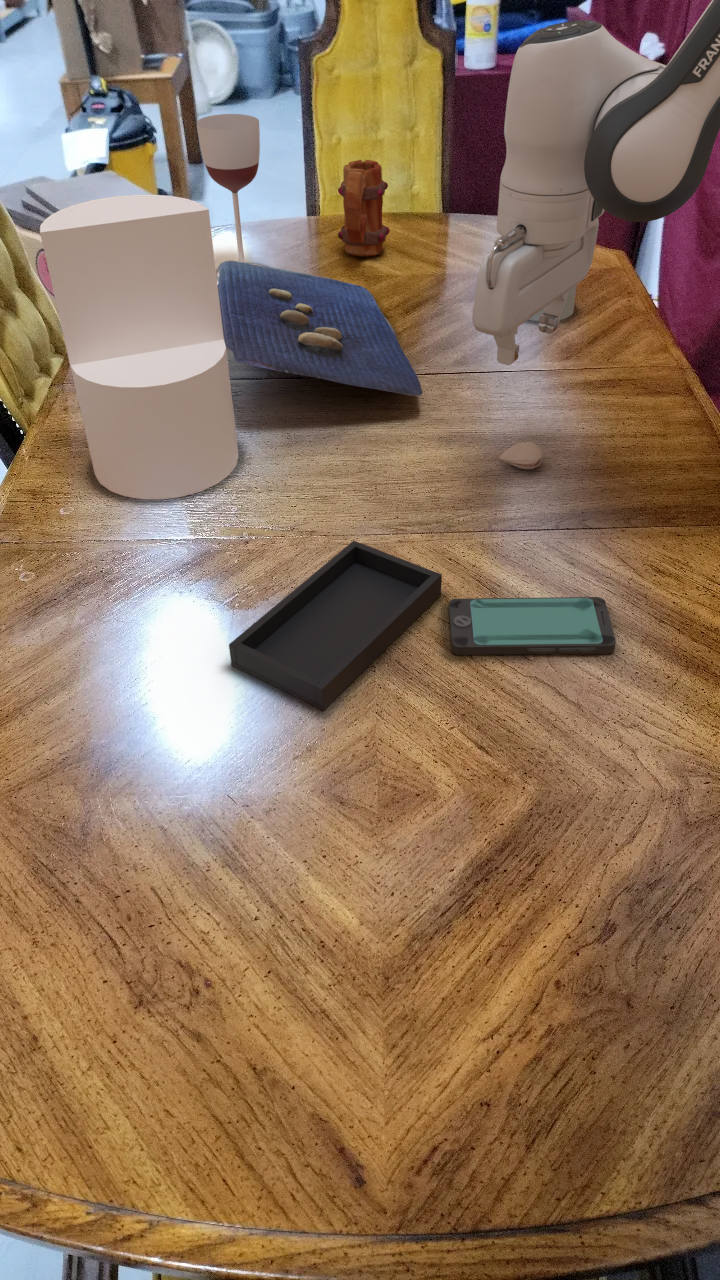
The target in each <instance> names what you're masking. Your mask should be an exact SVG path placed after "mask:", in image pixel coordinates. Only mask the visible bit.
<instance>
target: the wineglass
mask: <svg viewBox="0 0 720 1280" xmlns="http://www.w3.org/2000/svg"><path fill="white" fill-rule="evenodd" d="M196 129H197V136H198V141H199V146H200V147H199V148H200V152H201V155H202V159H203V163H204V166H205V168H206V171H207V173H208V176H209V177H210V178H211V179H212V180H213V181H214V183H216V184H218V185H219V186H220V187H223V188H225V189H226V190H228V191H229V192H231V195H232V206H233V207H232V208H233V215H234V223H235V224H234V226H235V234H236V235H235V236H236V245H237V255H238V262H243V263H245V255H244V243H243V233H242V224H241V215H240V204H239V193H238V192H239V191H240V190H243V188H245V187H247V186H249V184H251V183H252V182H253V181H254V180H255V178H256V176H257V173H258V170H259V165H260V153H261V151H260V150H261V146H260V145H261V144H260V142H261V141H260V139H261V137H260V135H261V134H260V120H259V118H257V117H255V116H253V115H248V114H243V113H242V114H240V113H223V114H222V113H221V114H213V115H209V116H204V117H201V118H199V119H198V120H196ZM253 264H254V265H259V266H262V264H257V263H253ZM216 277H217V279H219V270H218V271H217V272H216Z"/></svg>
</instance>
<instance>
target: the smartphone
mask: <svg viewBox="0 0 720 1280" xmlns="http://www.w3.org/2000/svg"><path fill="white" fill-rule="evenodd" d="M448 618H449V619H448V621H449V632H450V644H451V645H450V647H451V652H452V653H453V654H455V655H458V656H475V655H477V656H478V655H479V656H481V655H482V656H483V655H485V656H487V655H489V656H490V655H493V656H494V655H579V654H580V655H581V654H585V655H586V654H587V655H591V654H593V655H594V654H596V655H597V654H611V653H614V652H615V649H616V645H617V644H616V643H617V640H616V637H615V633H614V632H615V631H614V629H613V625H612V622H611V617H610V614H609V611H608V606H607V602H606V600H605V599H604V598H602V597H600V596H572V597H571V596H569V597H568V596H565V597H560V596H559V597H558V596H557V597H556V596H555V597H487V598H484V597H483V598H482V597H481V598H479V597H478V598H477V597H476V598H475V597H473V598H452V599H450V600H449V601H448Z"/></svg>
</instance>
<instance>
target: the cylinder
mask: <svg viewBox="0 0 720 1280" xmlns="http://www.w3.org/2000/svg"><path fill="white" fill-rule="evenodd" d="M211 226H212V225H211V218H210V209H209V208H208V207H206V206H205V205H203V204H202V203H201V202H198V201H194V200H192V199H189V198H184V197H179V196H174V195H166V194H165V195H163V194H128V195H127V194H126V195H116V196H109V197H103V198H96V199H91V200H87V201H85V202H79V203H76V204H72V205H70V206H67V207H65V208H62V209H60V210H57V211H56V212H54V213H52V214H51V215H49V216H47V217H46V218H45V219H44V220H43V222H42V223H41V224H40V226H39V236H40V239H41V244H42V249H43V253H44V257H45V262H46V265H47V270H48V274H49V278H50V283H51V287H52V293H53V297H54V301H55V305H56V310H57V314H58V318H59V322H60V327H61V331H62V332H61V333H62V336H63V340H64V345H65V348H66V353H67V354H66V355H67V358H68V363H69V367H70V371H71V376H72V380H73V384H74V385H73V386H74V388H75V394H76V397H77V402H78V406H79V410H80V416H81V419H82V423H83V429H84V434H85V437H86V441H87V446H88V450H89V456H90V459H91V464H92V467H93V472H94V476H95V477H96V479H97V481H98V482H99V484H100V485H101V486H103V487H104V488H105V489H107V491H110V492H111V493H114V494H117V495H120V496H123V497H126V498H133V499H139V500H168V499H174V498H175V499H176V498H183V497H186V496H189V495H193V494H197V493H201V492H203V491H205V490H207V489H209V488H211V487H214V486H216V485H217V484H219V483H220V482H222V481H223V480H225V479H226V478H227V477H228V476H230V475H231V473H232V472H233V471H234V470H235V468H236V467H237V464H238V460H239V457H240V456H239V455H240V454H239V446H238V437H237V429H236V421H235V412H234V405H233V404H234V403H233V396H232V395H233V394H232V386H231V376H230V369H229V359H228V351H227V348H226V345H225V342H224V336H223V328H222V319H221V311H220V302H219V294H218V276H217V270H216V269H217V268H216V262H215V261H216V260H215V254H214V253H215V252H214V244H213V235H212V227H211Z"/></svg>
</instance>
